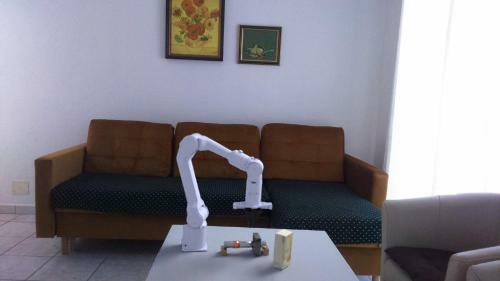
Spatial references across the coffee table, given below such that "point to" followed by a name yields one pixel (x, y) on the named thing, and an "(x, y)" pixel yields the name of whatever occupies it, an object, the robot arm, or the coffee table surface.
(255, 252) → the grey square collar
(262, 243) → the pipe
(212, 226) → the coffee table surface
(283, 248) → the skincare box
